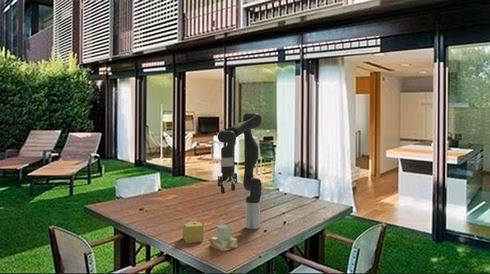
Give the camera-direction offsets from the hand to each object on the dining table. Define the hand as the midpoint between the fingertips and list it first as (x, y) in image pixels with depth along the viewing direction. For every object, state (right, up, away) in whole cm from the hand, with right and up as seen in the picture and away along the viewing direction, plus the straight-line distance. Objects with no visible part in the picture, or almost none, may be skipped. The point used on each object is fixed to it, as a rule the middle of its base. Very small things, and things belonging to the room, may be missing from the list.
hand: (228, 192), depth 228 cm
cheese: (-21, -29, +2) cm, 36 cm away
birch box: (-2, -30, -9) cm, 31 cm away
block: (-2, -25, -9) cm, 27 cm away
